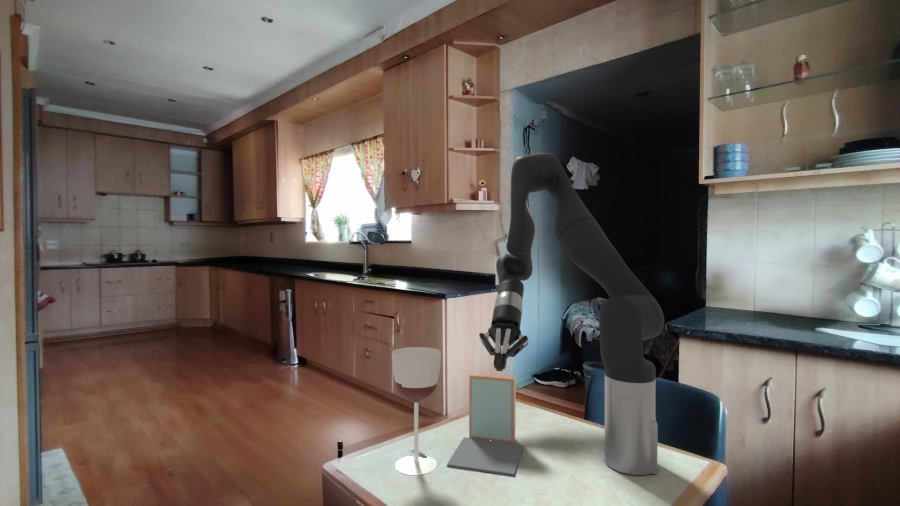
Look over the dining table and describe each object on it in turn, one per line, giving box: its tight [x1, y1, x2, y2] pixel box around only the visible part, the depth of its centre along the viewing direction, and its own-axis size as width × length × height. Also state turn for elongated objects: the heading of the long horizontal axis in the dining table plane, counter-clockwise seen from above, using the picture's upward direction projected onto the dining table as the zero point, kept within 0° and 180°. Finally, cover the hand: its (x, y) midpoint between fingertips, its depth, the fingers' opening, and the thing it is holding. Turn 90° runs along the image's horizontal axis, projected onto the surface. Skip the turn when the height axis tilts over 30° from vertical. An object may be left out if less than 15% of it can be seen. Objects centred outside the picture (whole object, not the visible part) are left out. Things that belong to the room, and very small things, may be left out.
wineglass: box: [391, 346, 442, 476], centre depth 86 cm, size 9×10×22 cm
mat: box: [446, 437, 524, 477], centre depth 90 cm, size 13×13×1 cm
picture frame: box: [468, 372, 517, 444], centre depth 98 cm, size 10×2×14 cm, turn 74°
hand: (499, 369), depth 107 cm, fingers closed
